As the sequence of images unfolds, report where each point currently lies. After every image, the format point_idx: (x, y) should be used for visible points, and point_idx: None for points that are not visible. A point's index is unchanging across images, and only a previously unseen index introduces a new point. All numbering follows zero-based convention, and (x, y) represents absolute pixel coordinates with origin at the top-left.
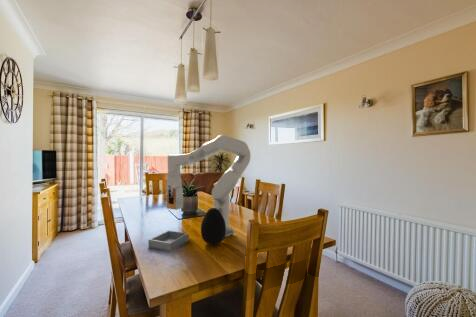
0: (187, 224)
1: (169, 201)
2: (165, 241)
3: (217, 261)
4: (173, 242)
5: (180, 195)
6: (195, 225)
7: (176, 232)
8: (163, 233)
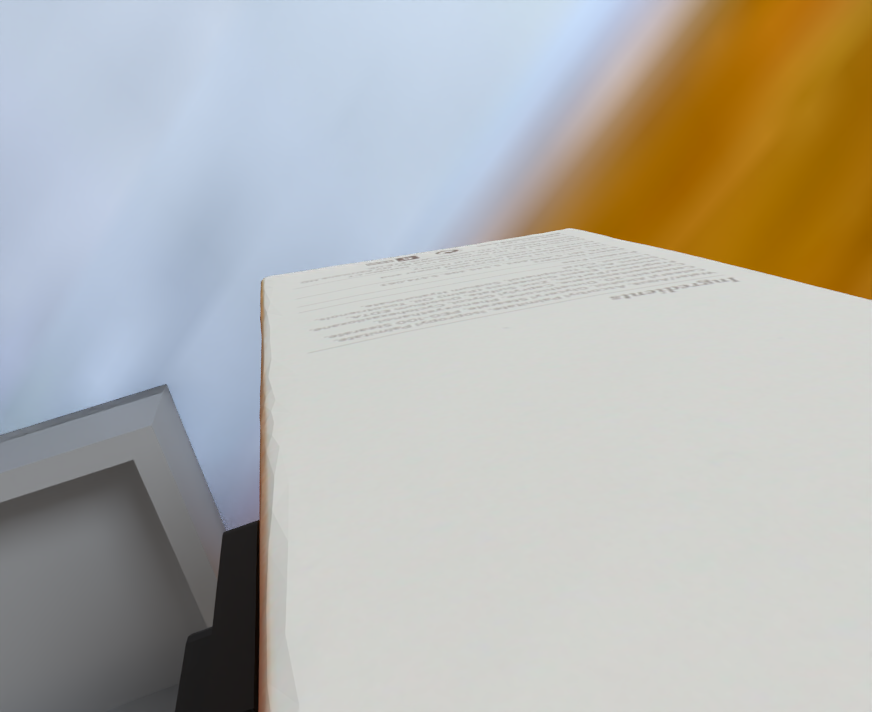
0: (731, 90)
1: (194, 671)
2: (15, 535)
3: None
4: None
5: None
6: (749, 234)
7: (190, 585)
8: (1, 497)
